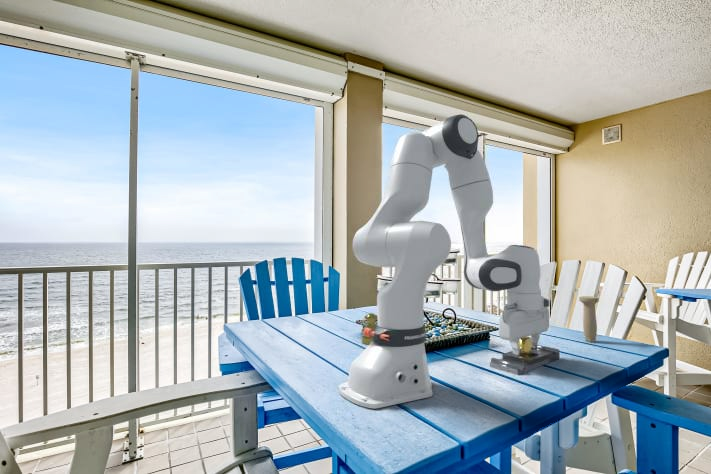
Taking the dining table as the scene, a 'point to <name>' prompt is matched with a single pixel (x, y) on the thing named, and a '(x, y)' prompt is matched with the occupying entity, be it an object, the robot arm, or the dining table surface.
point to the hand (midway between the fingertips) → (525, 351)
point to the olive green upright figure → (371, 325)
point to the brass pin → (525, 346)
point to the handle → (589, 317)
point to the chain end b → (535, 355)
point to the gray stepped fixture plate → (514, 365)
